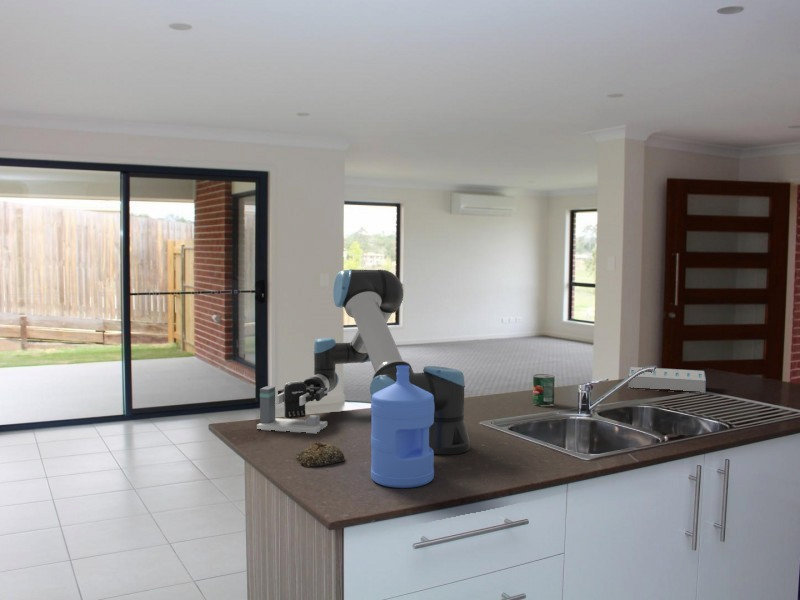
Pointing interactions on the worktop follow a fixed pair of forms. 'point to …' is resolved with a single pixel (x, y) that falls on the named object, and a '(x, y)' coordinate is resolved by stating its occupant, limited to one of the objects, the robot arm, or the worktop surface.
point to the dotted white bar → (669, 379)
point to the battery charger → (294, 399)
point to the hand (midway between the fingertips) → (289, 400)
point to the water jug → (402, 434)
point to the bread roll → (319, 455)
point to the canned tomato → (543, 389)
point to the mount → (278, 424)
